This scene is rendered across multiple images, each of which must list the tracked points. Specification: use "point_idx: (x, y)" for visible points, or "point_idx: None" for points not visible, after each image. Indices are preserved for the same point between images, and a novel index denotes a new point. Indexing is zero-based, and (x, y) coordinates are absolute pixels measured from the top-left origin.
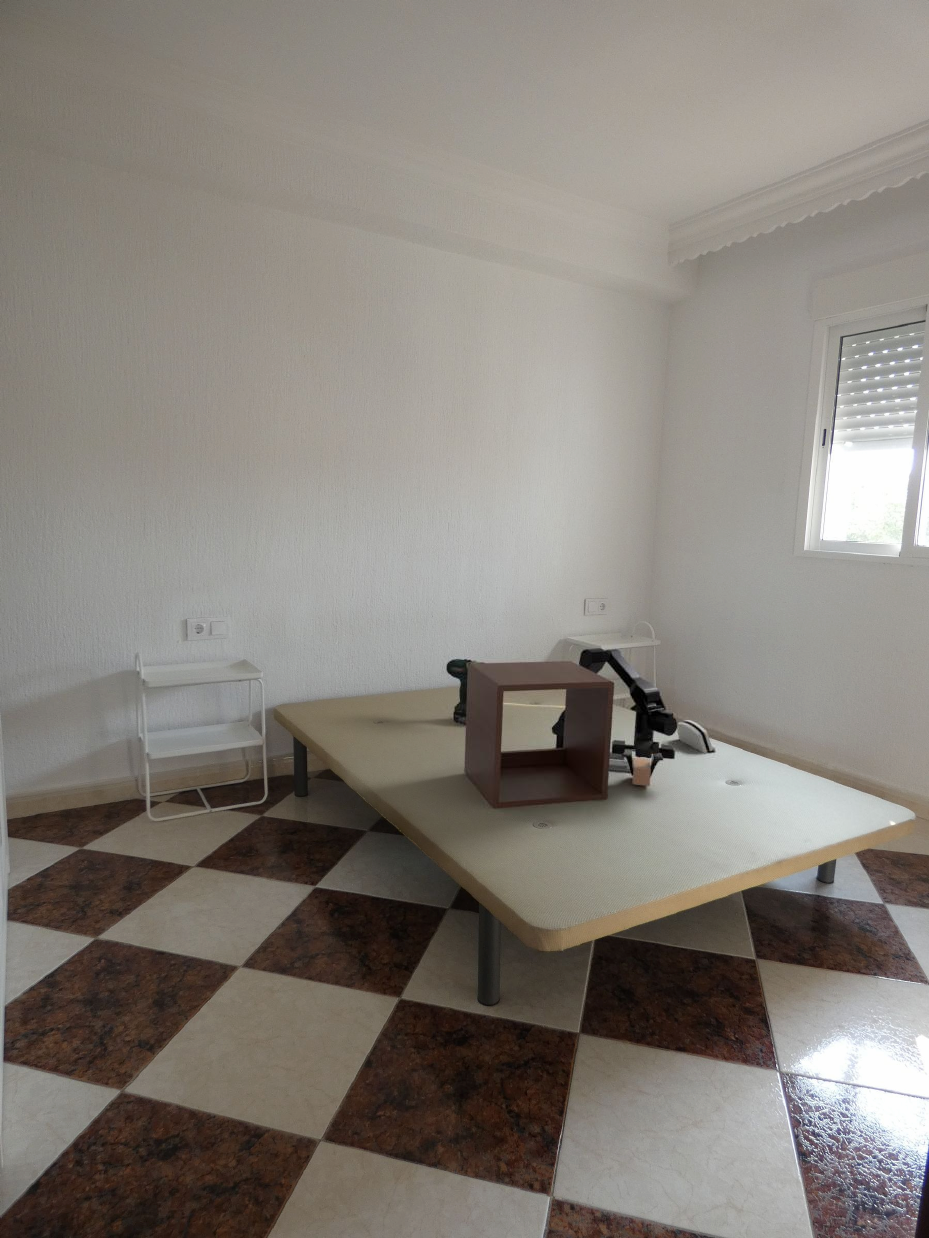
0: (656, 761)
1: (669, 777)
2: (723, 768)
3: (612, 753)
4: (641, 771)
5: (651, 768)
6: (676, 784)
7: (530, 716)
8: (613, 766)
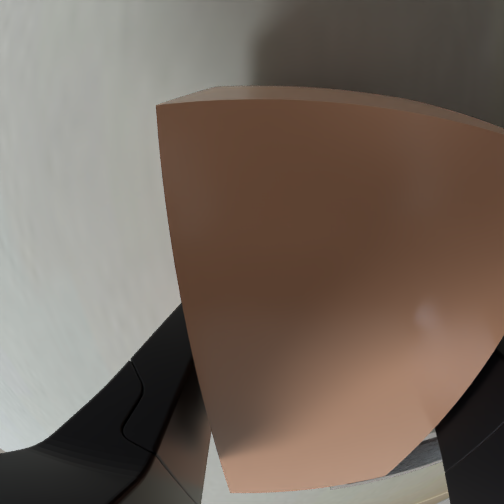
0: (35, 468)
1: (108, 379)
2: (13, 430)
3: (392, 471)
4: (423, 112)
5: (182, 356)
6: (34, 289)
7: (441, 488)
8: None
